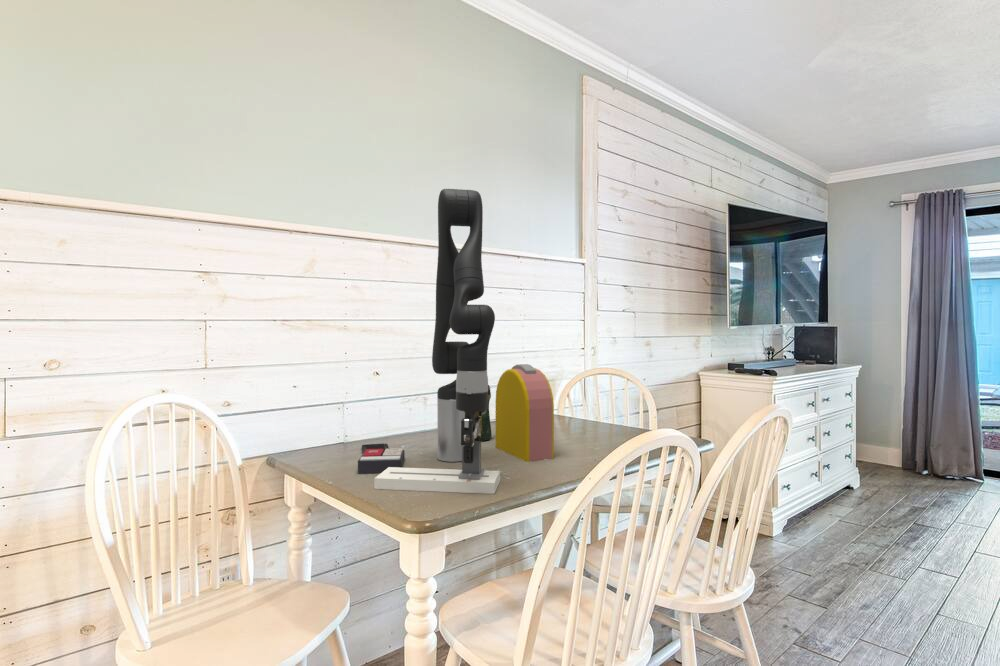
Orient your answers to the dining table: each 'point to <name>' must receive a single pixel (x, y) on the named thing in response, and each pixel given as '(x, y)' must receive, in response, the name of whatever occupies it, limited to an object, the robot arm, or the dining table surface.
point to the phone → (374, 447)
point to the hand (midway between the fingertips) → (471, 458)
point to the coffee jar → (486, 421)
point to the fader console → (435, 480)
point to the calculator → (380, 460)
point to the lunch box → (525, 414)
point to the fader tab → (472, 464)
